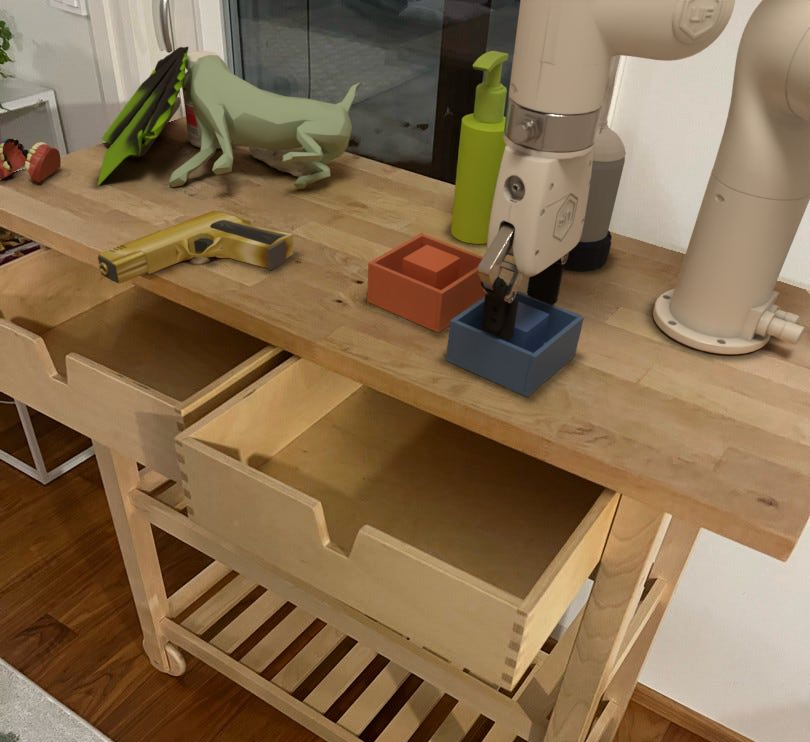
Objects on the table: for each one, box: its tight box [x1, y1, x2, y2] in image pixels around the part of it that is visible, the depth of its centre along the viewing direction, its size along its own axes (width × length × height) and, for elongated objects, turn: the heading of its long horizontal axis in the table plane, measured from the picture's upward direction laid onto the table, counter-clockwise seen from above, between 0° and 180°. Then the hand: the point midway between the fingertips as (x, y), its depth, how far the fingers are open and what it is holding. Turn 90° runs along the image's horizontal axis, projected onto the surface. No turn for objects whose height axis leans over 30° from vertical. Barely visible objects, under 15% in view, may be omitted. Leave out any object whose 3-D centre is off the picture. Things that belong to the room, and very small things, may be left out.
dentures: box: [0, 137, 62, 183], centre depth 106 cm, size 6×4×8 cm
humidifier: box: [560, 55, 627, 272], centre depth 91 cm, size 8×8×25 cm
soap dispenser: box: [450, 50, 509, 245], centre depth 95 cm, size 6×7×20 cm
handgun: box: [97, 210, 295, 285], centre depth 92 cm, size 2×19×12 cm
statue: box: [168, 54, 363, 190], centre depth 109 cm, size 27×13×20 cm
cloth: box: [97, 46, 189, 187], centre depth 109 cm, size 20×22×2 cm
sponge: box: [248, 147, 323, 178], centre depth 114 cm, size 12×5×4 cm
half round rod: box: [129, 96, 182, 158], centre depth 119 cm, size 4×20×2 cm, turn 179°
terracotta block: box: [402, 245, 460, 290], centre depth 89 cm, size 4×4×4 cm
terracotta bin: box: [366, 233, 485, 334], centre depth 89 cm, size 10×10×4 cm
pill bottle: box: [181, 50, 233, 150], centre depth 114 cm, size 6×6×11 cm
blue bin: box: [445, 290, 585, 398], centre depth 82 cm, size 10×10×4 cm
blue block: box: [485, 302, 549, 353], centre depth 81 cm, size 4×4×4 cm
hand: (519, 315), depth 80 cm, fingers open, 7 cm apart
